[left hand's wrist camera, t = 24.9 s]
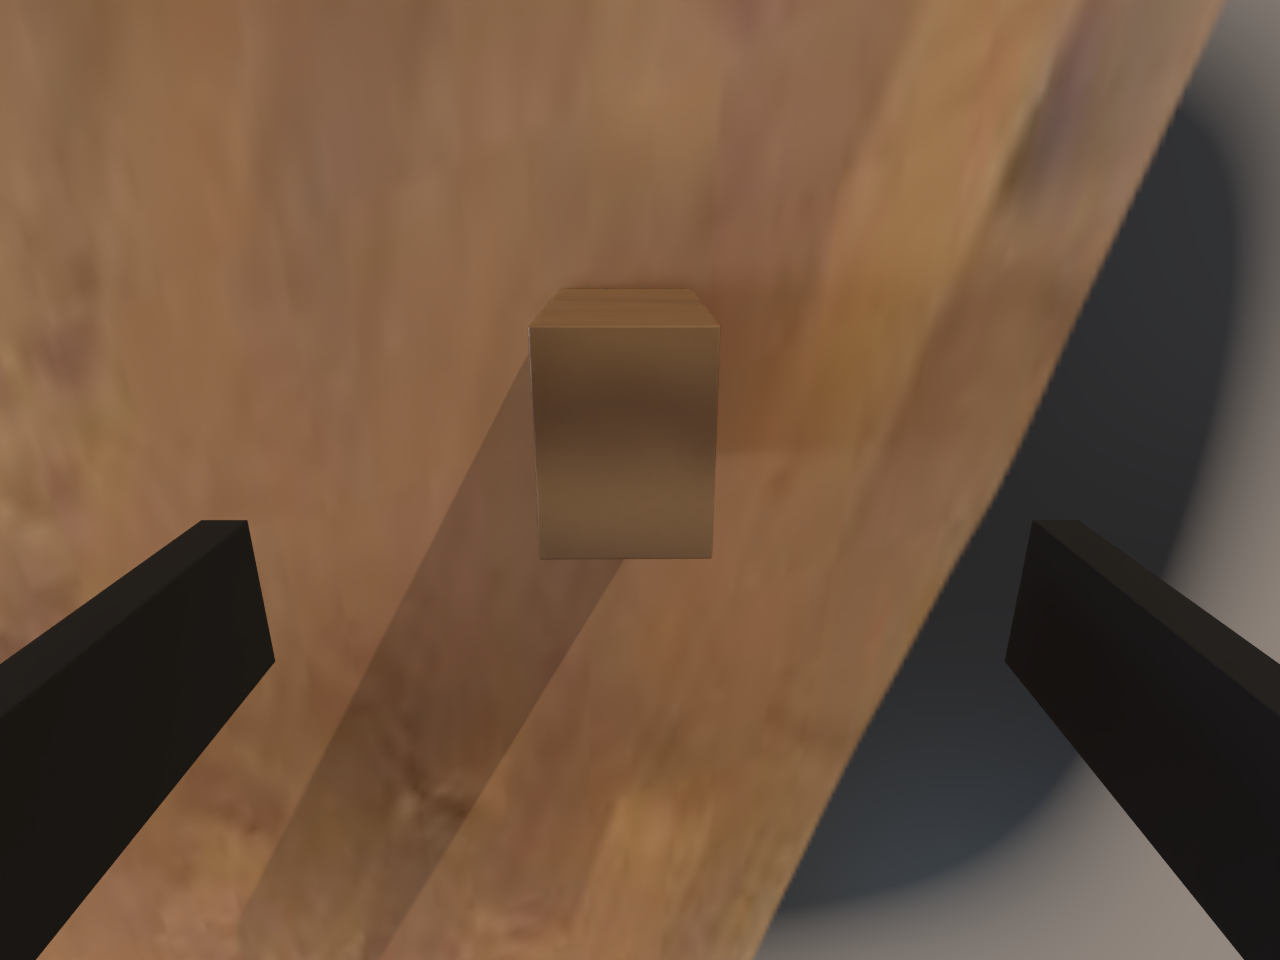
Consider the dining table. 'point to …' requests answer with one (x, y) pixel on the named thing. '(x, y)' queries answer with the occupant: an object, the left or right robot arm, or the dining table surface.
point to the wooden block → (625, 424)
